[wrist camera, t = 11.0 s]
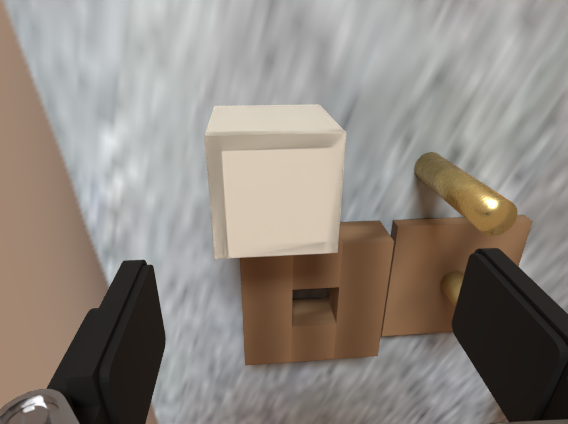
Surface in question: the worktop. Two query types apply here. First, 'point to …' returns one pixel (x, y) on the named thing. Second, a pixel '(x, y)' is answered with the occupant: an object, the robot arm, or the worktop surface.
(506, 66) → the worktop surface
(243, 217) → the block
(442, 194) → the brass pin
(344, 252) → the socket tile
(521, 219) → the tile
